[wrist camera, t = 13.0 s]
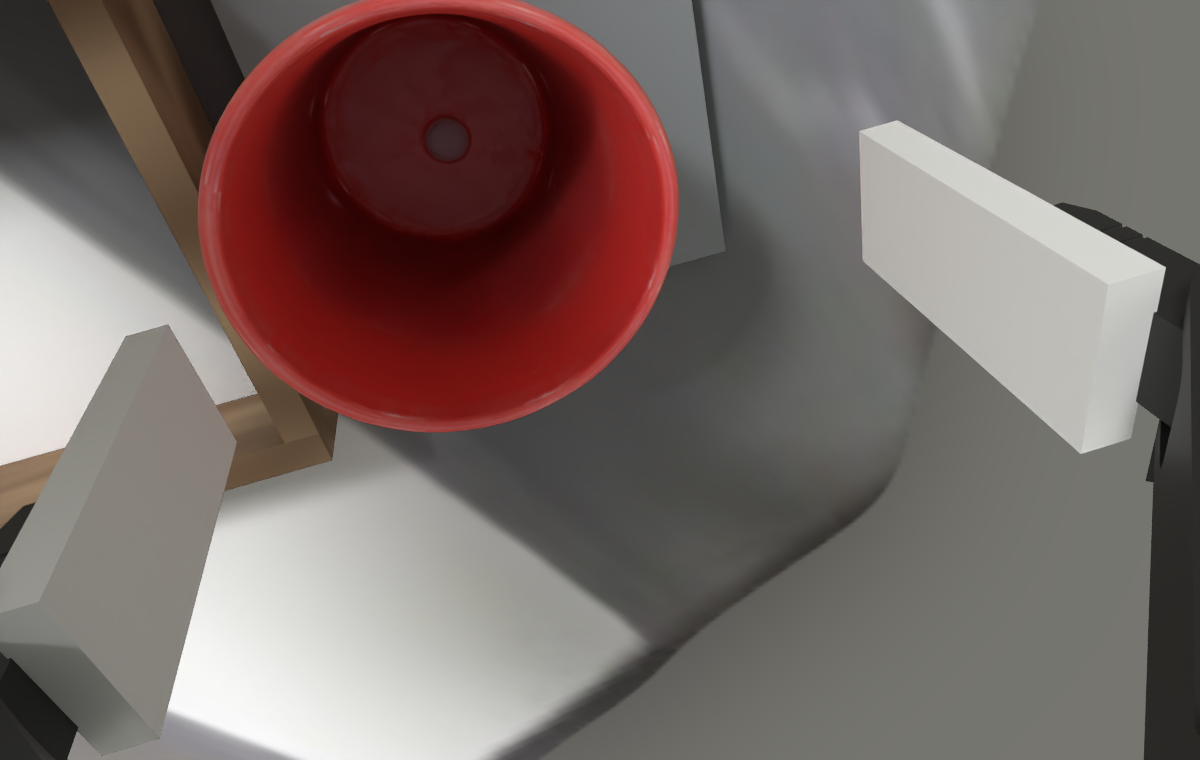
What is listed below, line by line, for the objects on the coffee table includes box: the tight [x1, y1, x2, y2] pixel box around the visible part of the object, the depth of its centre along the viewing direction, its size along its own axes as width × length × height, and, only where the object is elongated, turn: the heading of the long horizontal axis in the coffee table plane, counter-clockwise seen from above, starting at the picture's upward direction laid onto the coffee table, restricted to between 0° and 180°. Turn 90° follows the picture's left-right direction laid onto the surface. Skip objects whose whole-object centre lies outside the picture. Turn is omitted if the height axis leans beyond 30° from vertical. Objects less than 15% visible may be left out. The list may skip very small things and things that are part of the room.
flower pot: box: [198, 0, 679, 432], centre depth 23 cm, size 11×11×10 cm
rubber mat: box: [211, 0, 726, 267], centre depth 28 cm, size 14×14×1 cm
